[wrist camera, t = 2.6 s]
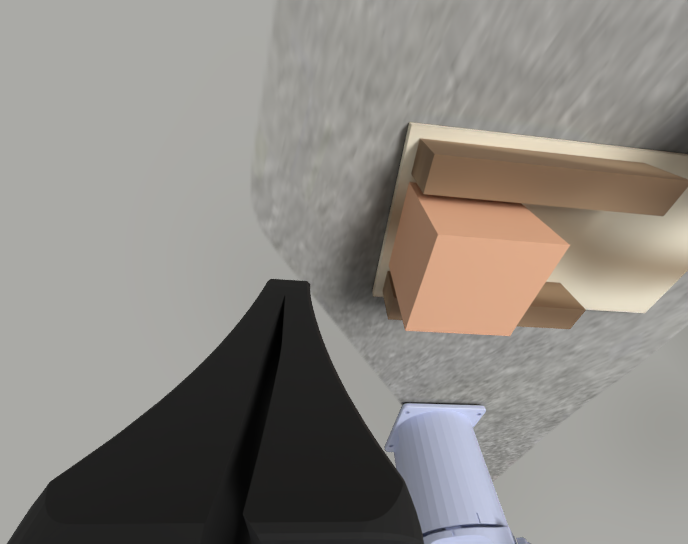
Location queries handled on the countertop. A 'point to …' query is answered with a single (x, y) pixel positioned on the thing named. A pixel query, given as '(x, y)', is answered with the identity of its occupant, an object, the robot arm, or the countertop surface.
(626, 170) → the chute
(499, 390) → the countertop surface
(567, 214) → the board
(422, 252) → the terracotta block
